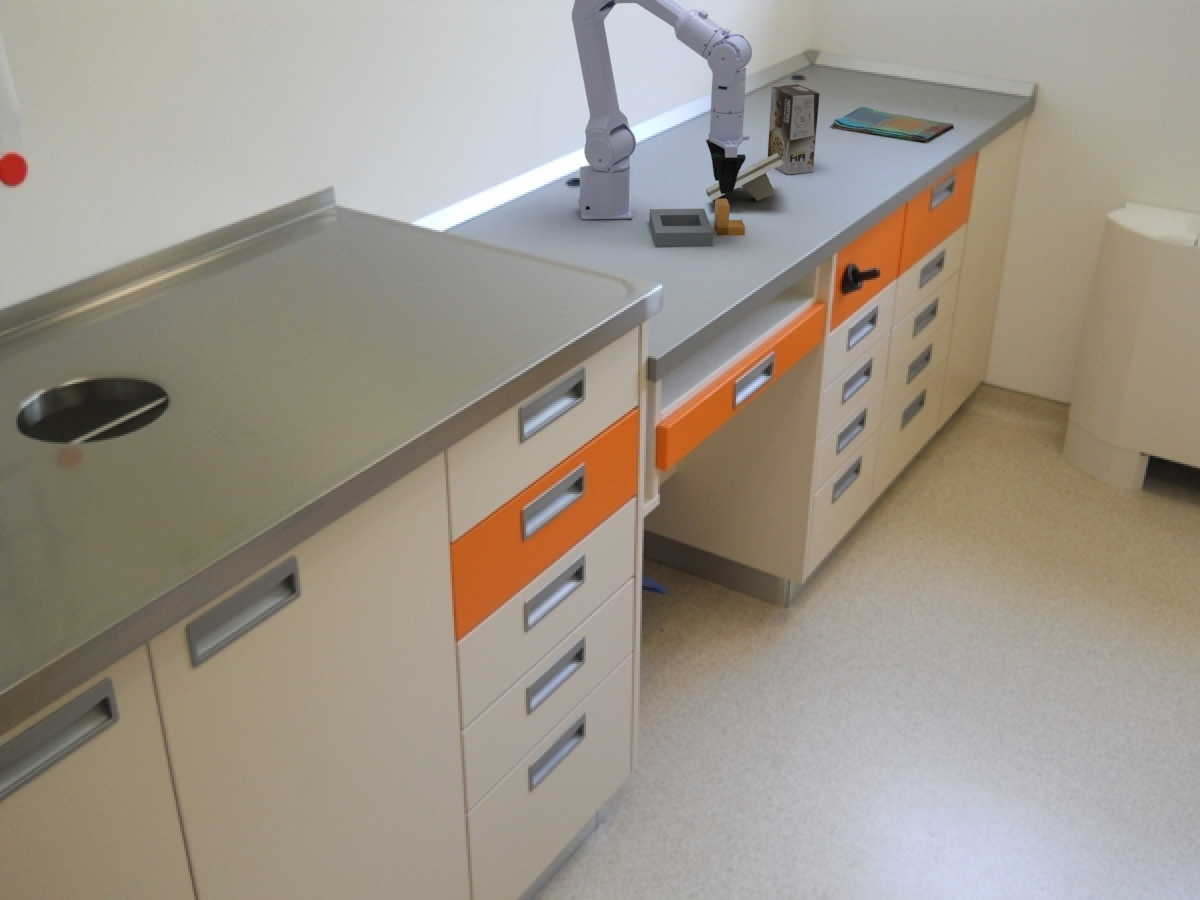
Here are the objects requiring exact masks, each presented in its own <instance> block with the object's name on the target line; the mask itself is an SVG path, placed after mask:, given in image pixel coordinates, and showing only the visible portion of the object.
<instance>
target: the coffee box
mask: <svg viewBox="0 0 1200 900" xmlns="http://www.w3.org/2000/svg"><path fill="white" fill-rule="evenodd" d="M770 95H771V96H770V98H771V99H770V110H769V112H770V113H769V126H768V127H769V128H768V129H769V130H768V141H767V143H768V145H767V158H768V157H770V156H772V155H774V154H776V153H778V155H779V157H780V159H781V160H782V161H783V164H782V165H780V166H778V167H776V168H775V169H776V170H778V171H780V172H782V173H784V174H786V175H789V176H790V175H796V174H803V173H804V174H806V173H813V171H814V162H815V161H814V160H815V151H816V137H817V127H818V117H819V103H820V95H821V93H820V92H817V91H815V90H813V89H810V88H808V87H805V86H804V85H800V84H797V83H795V84H787V85H786V84H785V85H780V86H772V87H771V94H770Z"/></svg>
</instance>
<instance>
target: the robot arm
mask: <svg viewBox="0 0 1200 900" xmlns="http://www.w3.org/2000/svg"><path fill="white" fill-rule="evenodd" d="M618 4H637V5H638V6H640V7H641V8H643V9H644V10H646V11H647V12H649V13H651V14H653V16H655V17H657V18H659V19H660V20H662V21H663V22H665V23H667V24H668V25H669V26H671V27H673V29H674V35H675V38H676V39H677V40H678V41H679V42H681V43H682V44H683V45H685V46H687V47H688V48H689V49H690V50H692V51H693V52H695V53H696V54H697V55H699V56H700V57H701V58H703V59H704V60H707V65H708V68H709V70H710V71H711V72H712V78H711V96H710V97H711V99H710V115H709V117H710V119H709V133H708V136H707V137H708V138H707V139H706V140H705V142H706V145H707V147H708V150H709V153H710V158H711V163H712V172H713V178H714V181H716V182H717V181H718V182H719V188H720V192H721V194H724V195H728V194H729V195H731V194H734V193H733V192H734V190H735V189H734V187H735V184H736V180H737V176H738V173H739V172H740V170H741V168H742V166H743V165H744V163H745V161H746V158H747V156H746V154H744V153H743V154H738V150H739V149H738V148H739V146H740V145H741V144H742V143H743V141H749V140H750V134H749V133H746V132H745V133H744V117H745V102H746V99H745V98H746V78H747V77H746V75H747V68H746V67H747V65H749V63H750V62H751V60H752V54H753V50H752V45H751V43H750V42H749V41H748V39H746V38H745V36H744V35H743V34H741V33H733V34H731V29H729V28H728V27H725V28H723V27H722V26H720V25H719V24H718V23H716V22H715V21H713V20H712V19H710V18H709V17H708V16H709V13H708V12H707V11H706V10H705V9H702V10H698V9H696V8H695V9H689V10H685V8H683V7H682V6H681V5H679V3H677V2H676V1H674V0H574V2H573V7H572V11H571V21H572V25H573V31H574V37H575V42H576V47H577V53H578V58H579V62H580V63H579V65H580V69H581V74H582V79H583V85H584V89H585V95H586V101H587V107H588V111H589V119H588V121H587V122H588V123H587V124H586V128H585V131H584V132H585V144H584V148H583V150H584V152H583V153H584V156H585V157H584V158H585V159H586V161H587V163H588V164H589V165H587V166H586V165H585V166H580V167H579V196H578V200H577V201H578V202H577V203H578V207H579V211H580V219H582V220H628V219H629V220H631V219H633V211H632V208H631V204H630V176H631V175H630V173H631V171H630V170H631V165H630V163H631V162H630V157H631V156H632V155H633V153H634V152H635V150H636V146H637V140H636V139H637V138H636V136H635V134H634V132H633V131H632V129H631V128H630V125H629V121H628V117H627V116H626V115H625V113H624V112H622V111H621V110H620V107H619V106H620V105H619V100H618V95H617V94H618V93H617V89H616V83H615V77H614V72H613V66H612V61H611V60H612V59H611V55H610V49H609V43H608V37H607V32H606V26H605V19H606V18H607V17H608V16H609V14H610V12H611V11H612V10H613V9H614V7H615V6H616V5H618Z"/></svg>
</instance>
